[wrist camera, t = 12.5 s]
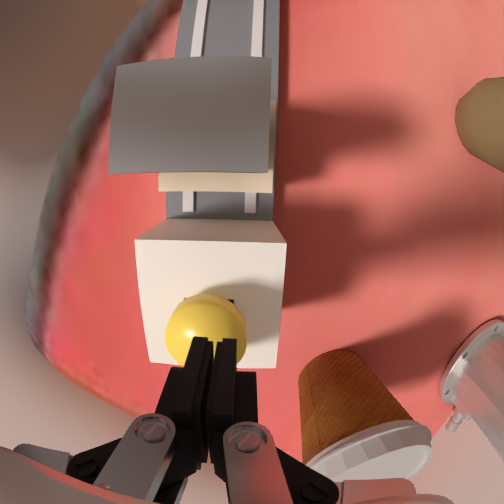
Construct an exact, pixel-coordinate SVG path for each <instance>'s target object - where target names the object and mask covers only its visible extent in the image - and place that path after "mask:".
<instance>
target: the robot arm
mask: <svg viewBox="0 0 504 504" xmlns="http://www.w3.org/2000/svg"><path fill="white" fill-rule="evenodd" d="M439 394H440V397H441V398H442V400H443V401H444V402H445V403H446V404H449V405H453V404H454V405H455V408H454V414H453V416H452V417H451V418H450V420H449V421H448V423H447V424H446V430H447V431H448V432H455V431H456V429H457V428H458V426H459V425H460V424H461V422H462V420H463V418H464V419H465V420H469V419H470V418H471V417H472V418H473V419H474V421H475V422H476V423H477V425H478V426H479V427H480V429H481V430H482V431H483V433H484V434H485V436H486V437H487V438H488V440H489V441H490V442H491V444H492V445H493V447H494V448H495V449H496V451H497V452H498V454H499V455H500V457H501V458H502V460H503V461H504V322H503V321H502V320H499V319H495V320H491V321H489V322H487V323H485V324H484V325H482V326H480V327H479V328H478V329H477V330H476V331H474V332H473V333H472V334H471V335H470V336H469V337H468V338H467V339H466V341H465V342H464V343H463V344H462V345H461V346H460V348H459V349H458V350H457V352H456V353H455V355H454V356H453V358H452V359H451V361H450V362H449V364H448V366H447V368H446V370H445V371H444V374H443V376H442V379H441V382H440V386H439ZM208 450H209V452H210V458H211V463H213V464H214V469H215V474H216V475H217V476H218V477H219V478H221V479H222V480H223V481H224V482H225V483H226V489H227V496H228V503H229V504H454V503H453V502H452V501H451V500H449V499H448V498H446V497H444V496H439V495H433V494H416V490H415V487H414V485H413V484H412V483H411V482H410V481H409V480H407V479H405V478H388V479H368V480H344V481H343V482H333V481H332V480H331V479H329V478H328V477H326V476H324V475H322V474H320V473H318V472H317V471H315V470H313V469H311V468H310V467H308V466H306V465H304V464H303V463H301V462H299V461H298V460H296V459H294V458H293V457H291V456H289V455H288V454H286V453H285V452H283V451H282V450H280V449H278V448H277V447H275V443H274V440H273V437H272V435H271V433H270V431H269V430H268V429H267V428H266V427H265V426H263V425H261V424H259V423H258V409H257V383H256V372H242V371H237V339H233V338H223V340H222V342H219V341H217V345H216V351H215V356H214V347H213V341H208V337H197V336H194V337H193V339H192V342H191V345H190V349H189V352H188V355H187V358H186V361H185V364H184V368H181V367H171V369H170V372H169V374H168V377H167V380H166V383H165V385H164V388H163V391H162V394H161V396H160V399H159V402H158V405H157V408H156V411H155V413H151V414H145V415H141V416H139V417H138V418H136V419H135V420H134V421H133V422H132V423H131V425H130V426H129V428H128V430H127V431H126V433H125V434H124V436H123V437H122V438H119V439H117V440H114V441H112V442H109V443H107V444H104V445H101V446H99V447H96V448H93V449H90V450H88V451H84V452H81V453H79V454H77V455H75V456H72V455H71V454H70V453H68V452H62V451H57V450H52V449H47V448H43V447H38V446H34V445H31V444H20V445H18V446H16V447H15V448H14V450H10V449H8V448H4V447H1V446H0V504H179V503H180V501H181V498H182V495H183V493H184V490H185V487H186V485H187V482H188V476H190V475H192V474H193V473H195V472H196V469H197V470H200V469H201V462H202V463H207V458H208Z"/></svg>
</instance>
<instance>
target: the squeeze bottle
mask: <svg viewBox="0 0 504 504" xmlns="http://www.w3.org/2000/svg"><path fill="white" fill-rule="evenodd" d="M455 121H456V126H457V131H458V134H459V136H460V139H461V141H462V143H463V145H464V146H465V148H466V149H467V150H468V152H469V153H470V154H472V155H473V156H475V157H477V158H479V159H481V160H483V161H484V162H486V163H488V164H490V165H492V166H493V167H495V168H497V169H499V170H500V171H502V172H504V77H499V78H486V79H483V80H482V81H480V82H479V83H477V84H476V85H475V86H474V87H473V88H472V89H471V90H470V91H469V92H468V93H466V94H465V95H464V96H463V97H462V98H461V99H460V100H459V102H458V104H457V107H456V116H455Z"/></svg>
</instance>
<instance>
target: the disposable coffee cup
mask: <svg viewBox="0 0 504 504" xmlns="http://www.w3.org/2000/svg"><path fill="white" fill-rule="evenodd" d="M298 384H299V398H300V415H301V435H302V459H303V464H304V465H306V466H308V467H310V468H311V469H313V470H315V471H317V472H318V473H320V474H322V475H324V476H326V477H328V478H329V479H331V480H332V481H333V482H343V481H344V480H368V479H388V478H405V479H407V480H411V479H412V478H413V477H415V476H416V475H417V474H418V473H419V472H420V471H421V470H422V469H423V468H424V467H425V466H426V464H427V463H428V461H429V460H430V458H431V456H432V448H431V443H430V442H431V437H432V436H431V432H430V430H429V429H428V428H427V426H423V425H421V424H420V423H419V422H417V421H414V420H413V418H412V417H411V416H410V415H409V414H408V413H407V411H405V409H404V408H403V407H402V406H401V404H400V403H399V402H398V401H397V400H396V399H395V398H394V397H393V395H392V394H391V393H390V392H389V391H388V389H387V388H385V386H384V385H383V384H382V382H381V381H380V380H379V379H378V378H377V377H376V376H375V374H374V373H373V372H372V371H371V370H370V369H369V368H368V366H367V365H366V364H365V363H364V362H363V361H362V359H361V358H360V357H359V356H358V355H357V354H355V353H354V352H351V351H346V350H336V351H331V352H327V353H325V354H322V355H320V356H318V357H316V358H315V359H313V360H312V361H311V362H309V363H308V364H307V365H306V366H305V368H304V369H303V371H302V372H301V374H300V376H299V380H298Z"/></svg>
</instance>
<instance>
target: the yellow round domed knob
mask: <svg viewBox="0 0 504 504" xmlns="http://www.w3.org/2000/svg"><path fill="white" fill-rule="evenodd" d="M194 336H197V337H208V341H213V347H214V356H215V351H216V345H217V341H219V342H222V340H223V338H233V339H237V364H238V363H239V362H240V361H241V359H242V358H243V356H244V354H245V351H246V346H247V338H246V323H245V319H244V317H243V315H242V313H241V312H240V310H239V309H238V308H237V307H236V306H235V305H234V304H233V303H231V302H230V301H228V299H225V298H222V297H220V296H216V295H212V294H199V295H194V296H191V297H188V298H186V299H185V300H183V301H182V302H180V303H179V304H178V305H177V306H176V308H175V309H174V311H173V313H172V315H171V317H170V320H169V322H168V324H167V326H166V329H165V344H166V347H167V349H168V351H169V353H170V354H171V356H172V357H173V358H174V359H175V360H176V361H177V362H178V363H179V364H181V365H182V366H183V367H184V364H185V361H186V358H187V355H188V352H189V349H190V345H191V342H192V339H193V337H194Z"/></svg>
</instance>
